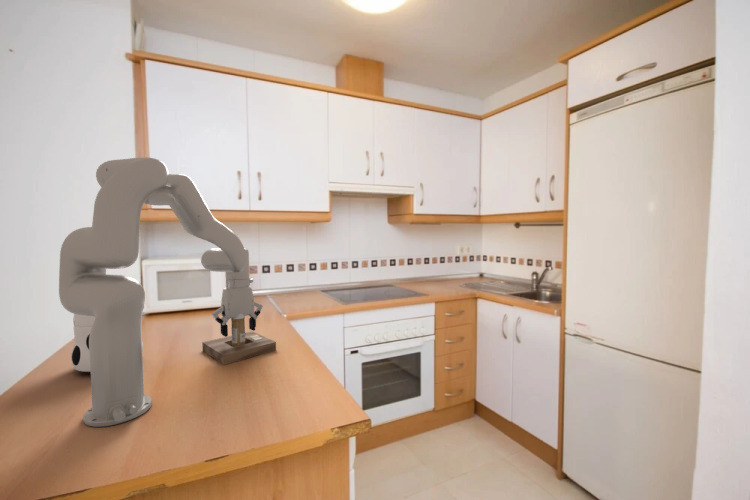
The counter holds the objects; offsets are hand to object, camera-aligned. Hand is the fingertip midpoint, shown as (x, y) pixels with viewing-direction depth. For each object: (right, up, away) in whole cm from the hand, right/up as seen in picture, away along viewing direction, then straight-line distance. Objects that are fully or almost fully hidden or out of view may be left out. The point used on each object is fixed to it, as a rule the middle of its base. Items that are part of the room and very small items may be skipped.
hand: (238, 332), depth 119 cm
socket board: (0, -6, 0) cm, 6 cm away
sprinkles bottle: (0, -7, 0) cm, 7 cm away
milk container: (-35, -7, -13) cm, 38 cm away
